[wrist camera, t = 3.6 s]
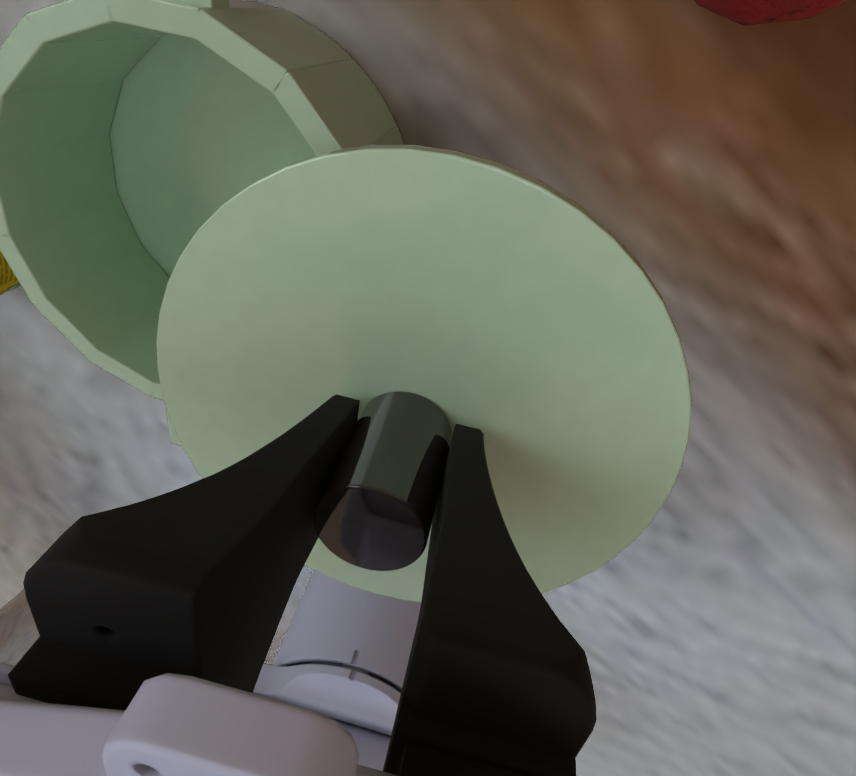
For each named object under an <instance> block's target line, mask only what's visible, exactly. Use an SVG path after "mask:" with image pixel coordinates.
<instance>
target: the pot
mask: <svg viewBox="0 0 856 776" xmlns="http://www.w3.org/2000/svg"><path fill="white" fill-rule="evenodd" d="M367 145H404V144H403V141H402V137H401V135H400V133H399V130H398V128H397V126H396V123H395V121H394V118H393V116H392V114H391V112H390V110H389V108H388V107H387V105H386V103H385V101H384V100H383V98H382V96H381V94H380V93H379V91H378V90H377V88H376V87H375V85H374V84H373V83H372V81H371V80H370V79H369V77H368V76H367V74H366V73H365V72H364V70H363V69H362V68H361V67H360V66H359V65H358V64H357V63H356V62H355V61H354V60H353V59H352V57H351V56H350V55H349V54H348V53H347V52H346V51H345V50H344V49H343V48H341V47H340V46H339V45H338V44H337V43H335V42H334V41H333V40H332V39H331V38H329V37H328V36H327V35H326V34H325V33H323V32H322V31H320V30H318V29H317V28H315V27H314V26H312V25H311V24H309V23H307V22H306V21H304V20H303V19H301V18H298V17H296V16H294V15H293V14H292V13H290V12H289V11H287V10H285V9H282V8H277V7H272V6H268V5H265V4H261V3H258V2H253V1H246V0H65V1H62V2H59V3H56V4H53V5H50V6H47V7H44V8H42V9H39V10H36V11H33V12H30V13H27V14H26V15H24V17H23V18H22V19H21V21H20V22H19V23H18V25H17V26H16V28H15V29H14V30H13V32H12V33H11V34H10V36H9V37H8V38H7V40H6V41H5V42H4V44H3V45H2V47H1V48H0V251H1V252H2V254H3V256H4V257H5V259H6V261H7V262H8V264H9V266H10V267H11V269H12V271H13V272H14V274H15V276H16V277H17V279H18V281H19V282H20V284H21V286H22V287H23V289H24V291H25V293H26V294H27V296H28V298H29V299H30V301H31V303H32V304H33V305H35V307H36V308H37V309H38V310H39V311H40V312H41V313H42V314H43V315H44V316H45V317H46V318H47V319H48V320H49V321H50V322H51V323H52V324H53V325H54V326H55V327H56V328H57V329H58V330H59V331H60V332H61V333H62V334H63V335H64V336H65V337H66V338H67V339H68V340H69V341H70V342H71V343H72V344H73V345H74V346H75V347H76V348H77V349H78V350H79V351H80V352H81V353H82V354H83V355H84V356H85V357H86V358H87V359H90V361H91V362H92V363H94V364H96V365H97V366H99V367H101V368H102V369H104V370H106V371H108V372H109V373H111V374H113V375H114V376H116V377H118V378H120V379H121V380H123V381H125V382H126V383H128V384H130V385H131V386H133V387H135V388H137V389H138V390H140V391H142V392H143V393H145V394H147V395H148V396H150V397H153V398H156V399H160V400H164V398H163V394H162V389H161V384H160V379H159V373H158V364H157V342H156V340H157V331H158V322H159V312H160V309H161V305H162V301H163V298H164V294H165V290H166V287H167V283H168V281H169V278H170V276H171V274H172V272H173V270H174V268H175V266H176V263H177V261H178V259H179V257H180V255H181V253H182V252H183V250H184V249H185V248H186V246H187V245H188V243H189V242H190V240H191V239H192V237H193V236H194V235H195V233H196V232H197V230H198V229H199V228H200V227H201V226H202V225H203V224H204V223H205V222H206V220H207V219H208V218H209V217H210V216H211V215H212V214H213V213H214V212H215V211H216V210H217V209H218V208H219V207H220V206H221V205H222V204H224V203H225V202H226V201H228V200H229V199H231V198H232V197H233V196H235V195H236V194H237V193H239V192H240V191H242V190H243V189H244V188H246V187H247V186H249V185H250V184H251V183H253V182H255V181H257V180H259V179H261V178H263V177H265V176H267V175H269V174H271V173H273V172H275V171H277V170H279V169H281V168H283V167H285V166H287V165H289V164H291V163H293V162H297V161H300V160H303V159H306V158H309V157H313V156H316V155H319V154H322V153H326V152H329V151H334V150H341V149H347V148H354V147H361V146H367ZM166 410H167V408H166ZM167 420H168V430H169V440H170V443H172V444H175V445H179V446H182V444H181V442H180V440H179V438H178V436H177V434H176V432H175V429H174V427H173V425H172V423H171V420H170V417H169V414H168V411H167Z"/></svg>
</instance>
